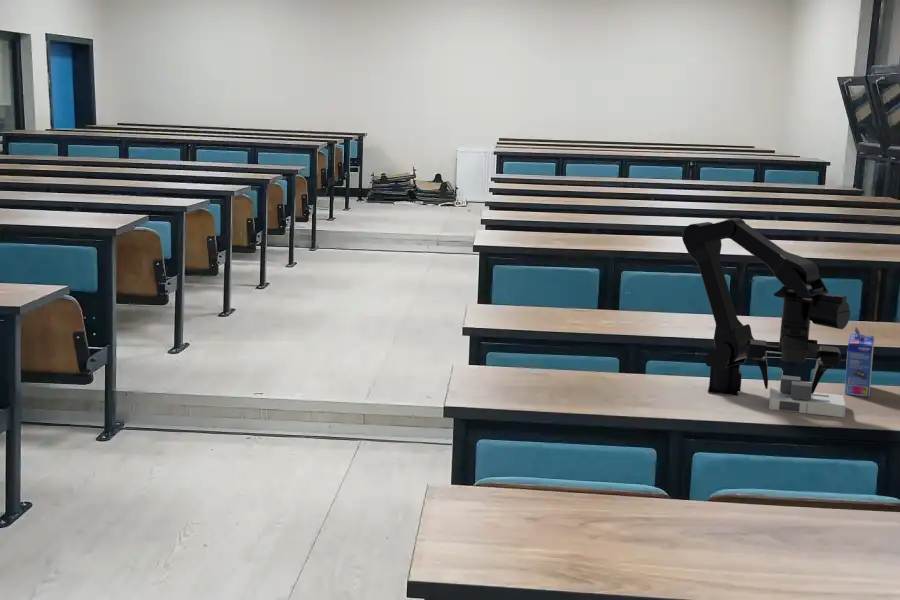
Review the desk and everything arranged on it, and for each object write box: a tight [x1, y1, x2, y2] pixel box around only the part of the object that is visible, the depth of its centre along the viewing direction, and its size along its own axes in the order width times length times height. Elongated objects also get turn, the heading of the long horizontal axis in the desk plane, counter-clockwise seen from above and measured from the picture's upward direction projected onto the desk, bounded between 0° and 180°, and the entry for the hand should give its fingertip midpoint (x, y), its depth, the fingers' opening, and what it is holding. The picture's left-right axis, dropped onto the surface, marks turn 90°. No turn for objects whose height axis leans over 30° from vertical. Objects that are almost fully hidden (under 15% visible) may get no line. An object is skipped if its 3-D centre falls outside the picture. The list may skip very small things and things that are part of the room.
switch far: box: [779, 374, 802, 393], centre depth 207 cm, size 4×3×3 cm
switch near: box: [791, 381, 812, 400], centre depth 203 cm, size 4×3×3 cm
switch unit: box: [768, 387, 846, 418], centre depth 204 cm, size 15×8×3 cm, turn 71°
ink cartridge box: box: [844, 326, 875, 398], centre depth 217 cm, size 10×6×14 cm, turn 155°
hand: (789, 390), depth 204 cm, fingers open, 9 cm apart
